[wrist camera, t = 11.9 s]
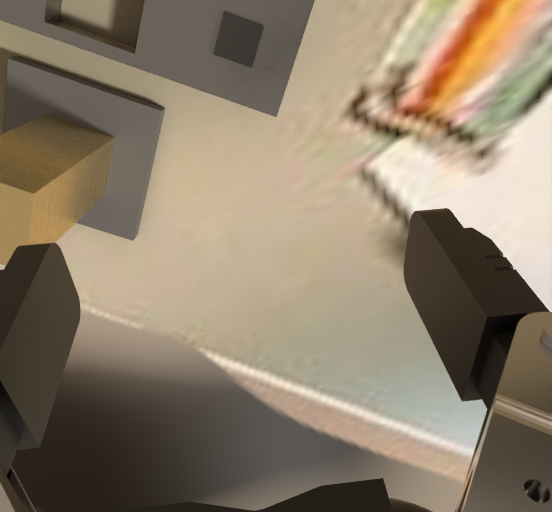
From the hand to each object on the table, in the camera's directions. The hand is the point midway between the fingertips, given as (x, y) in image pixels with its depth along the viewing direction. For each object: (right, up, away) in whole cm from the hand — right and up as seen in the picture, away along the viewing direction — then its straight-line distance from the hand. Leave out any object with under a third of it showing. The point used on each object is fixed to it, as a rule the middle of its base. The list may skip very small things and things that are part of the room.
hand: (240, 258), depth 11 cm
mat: (-13, +7, +23) cm, 28 cm away
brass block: (-13, +7, +22) cm, 27 cm away
